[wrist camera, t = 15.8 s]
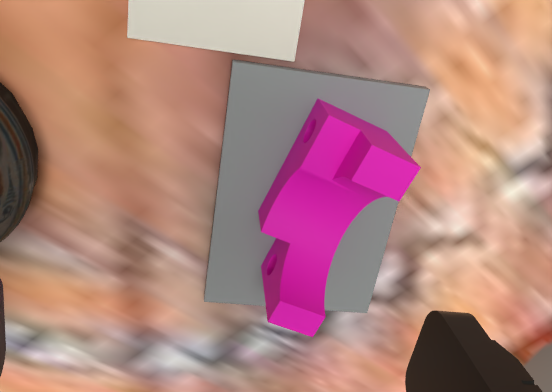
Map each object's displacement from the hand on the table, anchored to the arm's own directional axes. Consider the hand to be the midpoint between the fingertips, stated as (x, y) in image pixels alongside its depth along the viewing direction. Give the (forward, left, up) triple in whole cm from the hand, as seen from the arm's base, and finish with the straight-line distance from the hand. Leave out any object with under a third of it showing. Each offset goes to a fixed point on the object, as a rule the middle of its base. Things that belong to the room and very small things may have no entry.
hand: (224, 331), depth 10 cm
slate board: (+8, -11, -31) cm, 34 cm away
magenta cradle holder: (+8, -10, -30) cm, 33 cm away
